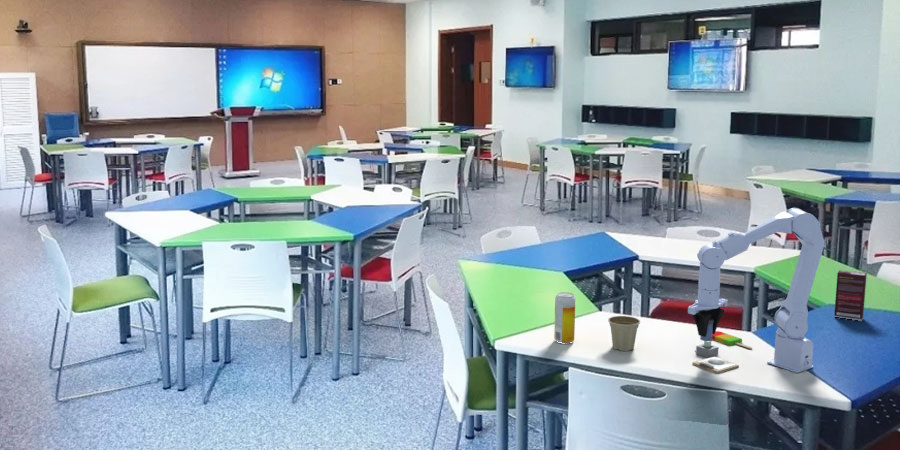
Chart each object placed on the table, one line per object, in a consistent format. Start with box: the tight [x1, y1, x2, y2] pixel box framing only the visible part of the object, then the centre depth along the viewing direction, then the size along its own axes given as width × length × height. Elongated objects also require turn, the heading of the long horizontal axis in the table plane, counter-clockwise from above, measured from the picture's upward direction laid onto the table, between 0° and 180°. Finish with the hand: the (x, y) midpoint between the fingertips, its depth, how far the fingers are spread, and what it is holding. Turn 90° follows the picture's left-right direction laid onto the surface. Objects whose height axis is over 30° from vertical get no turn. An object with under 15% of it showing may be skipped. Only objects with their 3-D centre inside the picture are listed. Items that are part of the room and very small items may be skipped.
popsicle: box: [712, 330, 753, 350], centre depth 236 cm, size 6×15×2 cm, turn 30°
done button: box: [703, 341, 712, 349], centre depth 225 cm, size 2×2×2 cm
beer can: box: [553, 291, 576, 343], centre depth 236 cm, size 6×6×15 cm
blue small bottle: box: [699, 318, 714, 342], centre depth 217 cm, size 3×3×6 cm
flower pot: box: [607, 315, 641, 352], centre depth 231 cm, size 9×9×9 cm
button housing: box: [695, 343, 720, 358], centre depth 225 cm, size 4×4×2 cm
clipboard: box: [691, 356, 740, 374], centre depth 216 cm, size 9×9×1 cm
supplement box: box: [833, 269, 868, 322], centre depth 258 cm, size 9×5×16 cm, turn 58°
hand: (706, 334), depth 218 cm, fingers closed on blue small bottle, 3 cm apart
